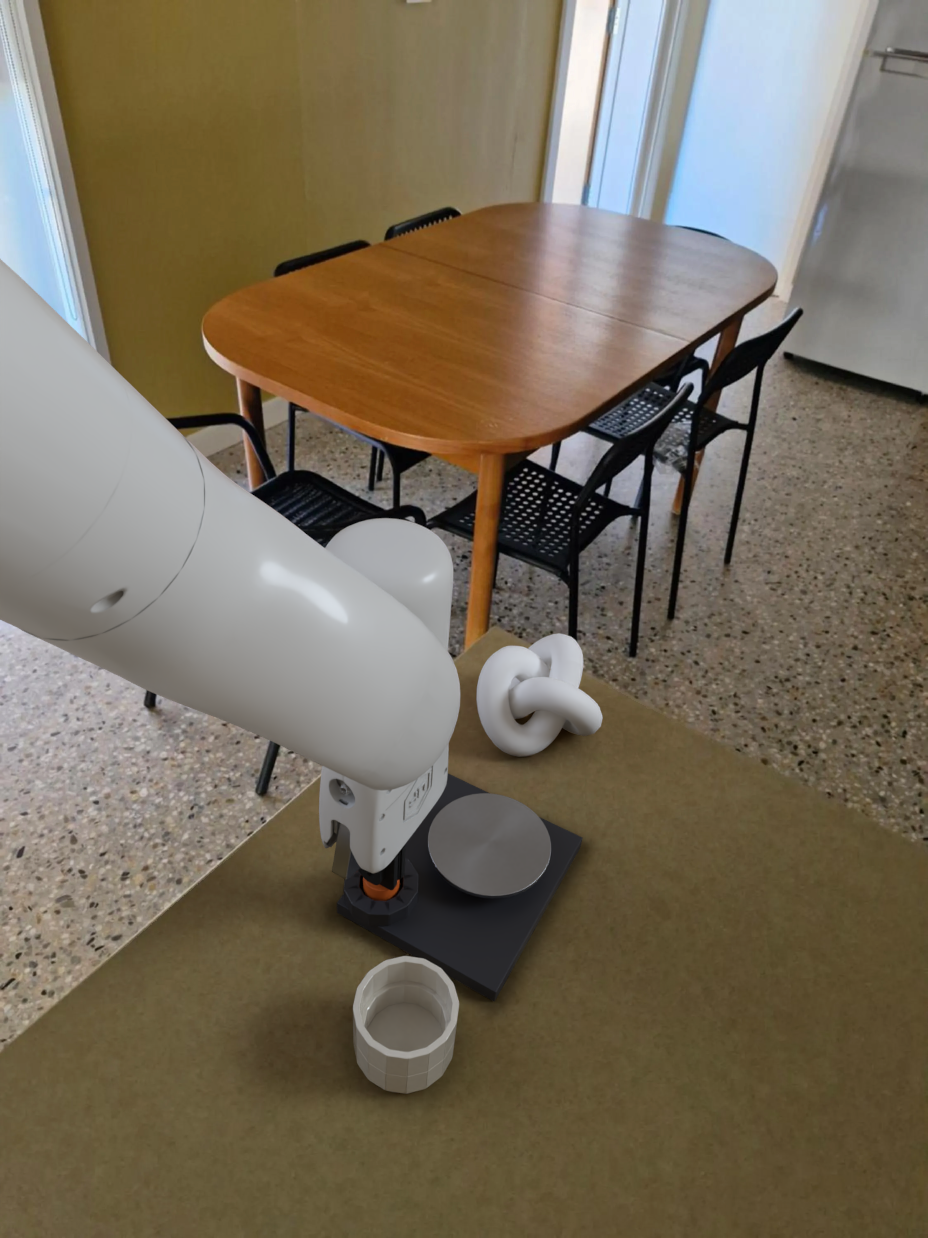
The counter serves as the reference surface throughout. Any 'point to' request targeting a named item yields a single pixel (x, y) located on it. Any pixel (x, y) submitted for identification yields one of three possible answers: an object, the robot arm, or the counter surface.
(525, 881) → the brushed metal disc
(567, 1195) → the counter surface
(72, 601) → the robot arm
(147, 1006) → the counter surface
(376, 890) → the tare button
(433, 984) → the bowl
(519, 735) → the white knot sculpture
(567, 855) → the scale
